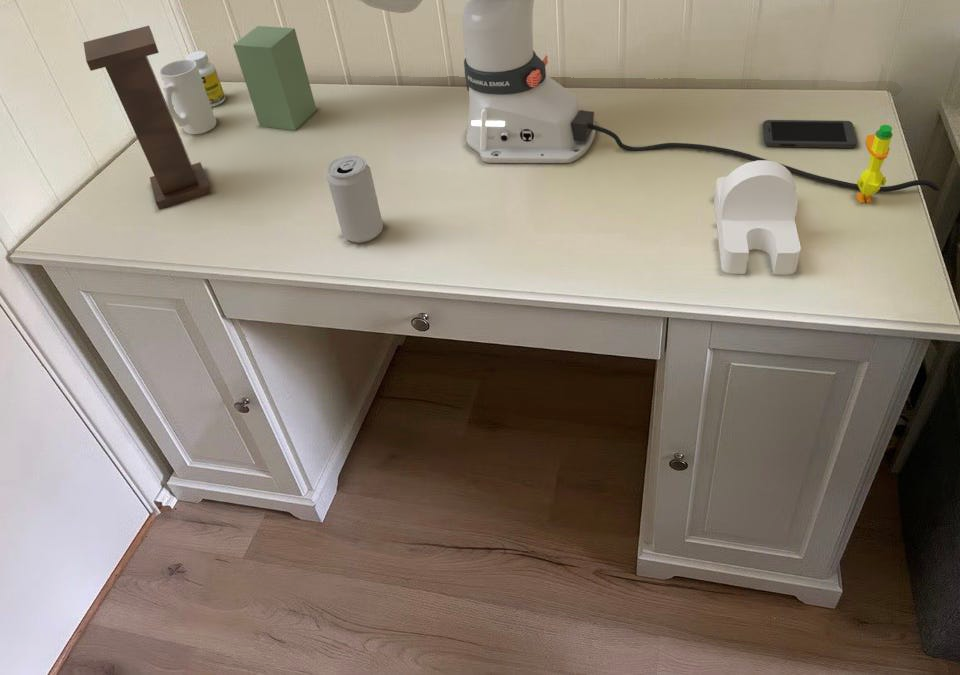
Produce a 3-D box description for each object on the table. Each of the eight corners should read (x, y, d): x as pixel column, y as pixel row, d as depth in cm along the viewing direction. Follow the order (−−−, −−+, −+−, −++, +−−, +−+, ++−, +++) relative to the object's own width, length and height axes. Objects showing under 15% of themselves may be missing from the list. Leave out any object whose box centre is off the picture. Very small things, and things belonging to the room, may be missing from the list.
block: (316, 109, 152) (294, 28, 141) (295, 130, 147) (271, 47, 136) (281, 106, 155) (257, 25, 144) (259, 126, 150) (233, 44, 138)
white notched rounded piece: (722, 273, 106) (731, 207, 98) (713, 197, 118) (721, 133, 111) (797, 274, 104) (812, 207, 97) (780, 197, 117) (793, 132, 109)
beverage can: (336, 243, 120) (317, 175, 111) (353, 218, 124) (335, 152, 116) (374, 247, 118) (358, 179, 110) (390, 222, 122) (375, 154, 114)
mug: (194, 117, 155) (171, 59, 147) (224, 118, 153) (202, 59, 145) (167, 143, 148) (142, 84, 140) (199, 145, 147) (175, 85, 138)
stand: (206, 168, 140) (148, 24, 122) (214, 192, 134) (155, 44, 116) (149, 185, 138) (83, 41, 120) (155, 210, 132) (86, 62, 114)
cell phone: (857, 148, 123) (858, 144, 123) (763, 146, 126) (764, 142, 126) (851, 124, 128) (852, 120, 128) (762, 123, 131) (762, 119, 131)
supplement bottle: (201, 110, 157) (183, 64, 150) (197, 100, 161) (180, 53, 154) (228, 103, 158) (211, 56, 151) (223, 92, 162) (207, 46, 155)
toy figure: (844, 186, 117) (863, 112, 109) (869, 184, 116) (890, 110, 108) (857, 212, 112) (878, 137, 104) (883, 211, 112) (906, 136, 103)
